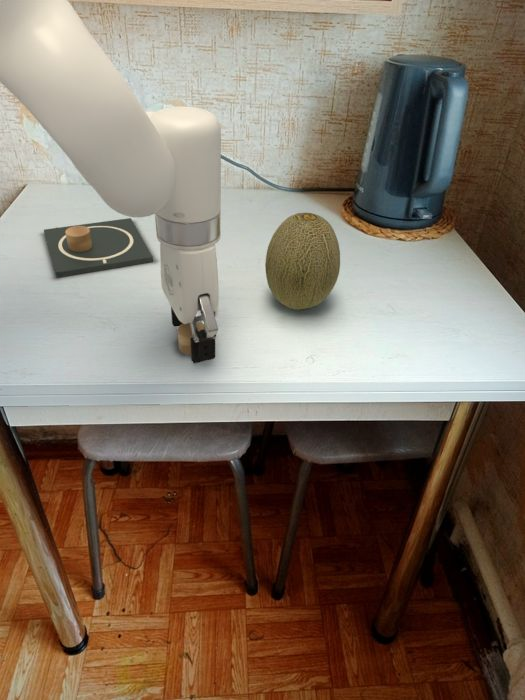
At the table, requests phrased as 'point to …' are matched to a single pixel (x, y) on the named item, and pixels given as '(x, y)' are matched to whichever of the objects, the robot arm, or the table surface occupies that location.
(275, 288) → the fruit
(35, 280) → the table surface
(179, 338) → the tan cork stopper
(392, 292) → the table surface
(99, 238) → the slate board
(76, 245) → the tan cork puck
